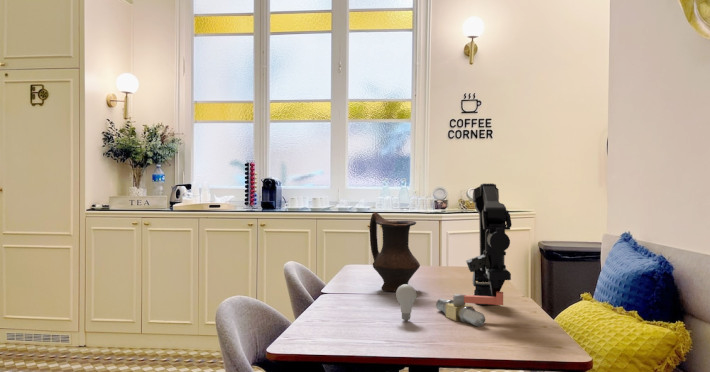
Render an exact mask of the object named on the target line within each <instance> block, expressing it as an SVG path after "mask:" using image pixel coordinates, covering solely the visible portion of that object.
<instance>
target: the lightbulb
mask: <svg viewBox="0 0 710 372" xmlns="http://www.w3.org/2000/svg"><path fill="white" fill-rule="evenodd" d="M395 297H396V300H397V302H398V305H399V306H400V307H399V308H400V312H401V319H402V320H403V321H405V322H408V321H410V320H411V315H412V314H411V313H412V309H413V305H414V303H415V301H416V298H417V290H416V289H415V287H414V286H413V285H411V284H409V283H408V284H404V285H401V286H400V287H399V288H398V289H397V291H396V292H395Z"/></svg>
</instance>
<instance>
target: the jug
mask: <svg viewBox="0 0 710 372" xmlns="http://www.w3.org/2000/svg"><path fill="white" fill-rule="evenodd" d="M416 224H417V221H415V220H389V219H385V218H384V217H382V216H381V215H380V214H379V213H378V212H373V213H372V214H371V218H370V220H369V241H370V242H369V243H370V250H371V254H372V258H373V262H372V267H373V269H374V270H375V271H376V272H377V274H378V275H379V277H381V278H382V281H383V284H382V286H381V290H382V291H383V292H391V293H396V291H397V289H398V288H399V287H400V286H401V285H404V284H409V282H410V280H411V278H412V277H413V276H414V274H415V273H416V272H417V271H418V270H419V269H420V267H421V264H420V262H419V261H418V260H417V258H416V257H415V256H414V254H413V253H412V252H411V249H410V247H409V243H410V242H409V236H410V235H409V233H410V229H411V226H415V225H416ZM377 225H378V226H380V227H381V229H382V248H381V250H380V251H379V247H378V236H377V232H378V231H377V229H378V228H377V227H378V226H377Z"/></svg>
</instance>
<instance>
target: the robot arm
mask: <svg viewBox="0 0 710 372" xmlns="http://www.w3.org/2000/svg"><path fill="white" fill-rule="evenodd" d="M499 193H500V192H499V188H498V187H497V184H496V183H482V184H480V185H479V186H477V187H475V188H474V189H473V191H472V203H474V209H475V210H476V212H477V213H478V216H479V217H478V219H479V221H478V222H479V225H478V226H479V228H478V229H479V255H478V256H474V257H472V258H468V259H467V260H465V262H466V264H467V268H468V270H469V272H470V273H472V285H473V287H475V289H474V293H473V294H474V295H475V296H493V297H496V292H501V290H502V288H503V285H504V284H505V282H506V281H511V280H512V273H511V272H510V271H509V270H508V269H507V266H506V264H505V256H506V255H507V252H506V250H508V248H510V244H511V240H510V237H509V235H508V234H507V233H506V231H510V230H511V228H512V219H511V214H510V212H509V210H508V209H507V208H506V206H505V204H504V203H502V202H500V201H499V200H500V194H499ZM479 305H480V306H494V305H495V304H479Z"/></svg>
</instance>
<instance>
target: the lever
mask: <svg viewBox="0 0 710 372" xmlns="http://www.w3.org/2000/svg"><path fill="white" fill-rule="evenodd" d="M452 300H453V304H454V305H465V304H478V305H480V304H495V305H497V306H504V291H500V292H496V297H493V296H475V295H473V294H472V295H471V294H462V293H461V294H460V293H454V294H453V299H452Z"/></svg>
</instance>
